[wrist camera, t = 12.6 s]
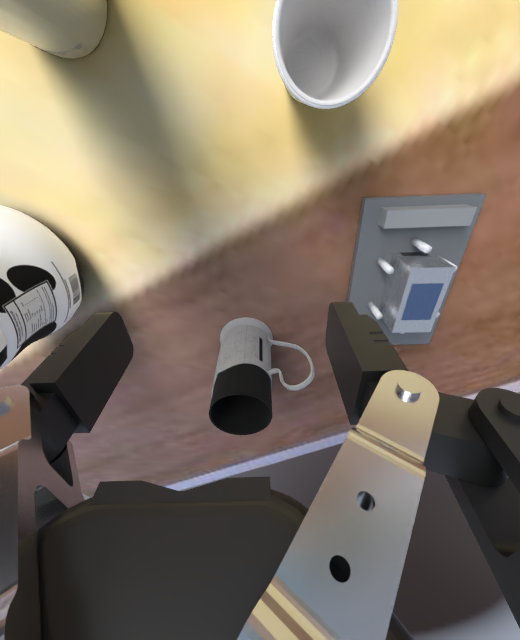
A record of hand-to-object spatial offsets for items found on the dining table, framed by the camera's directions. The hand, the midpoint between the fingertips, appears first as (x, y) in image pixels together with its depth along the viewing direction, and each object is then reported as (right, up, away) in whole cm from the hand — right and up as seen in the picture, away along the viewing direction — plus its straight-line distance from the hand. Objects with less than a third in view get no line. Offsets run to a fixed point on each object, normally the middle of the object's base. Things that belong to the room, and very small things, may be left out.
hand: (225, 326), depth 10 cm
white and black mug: (+2, -2, +33) cm, 34 cm away
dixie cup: (+6, +25, +16) cm, 31 cm away
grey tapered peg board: (+21, +6, +28) cm, 36 cm away
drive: (+21, +5, +27) cm, 35 cm away
